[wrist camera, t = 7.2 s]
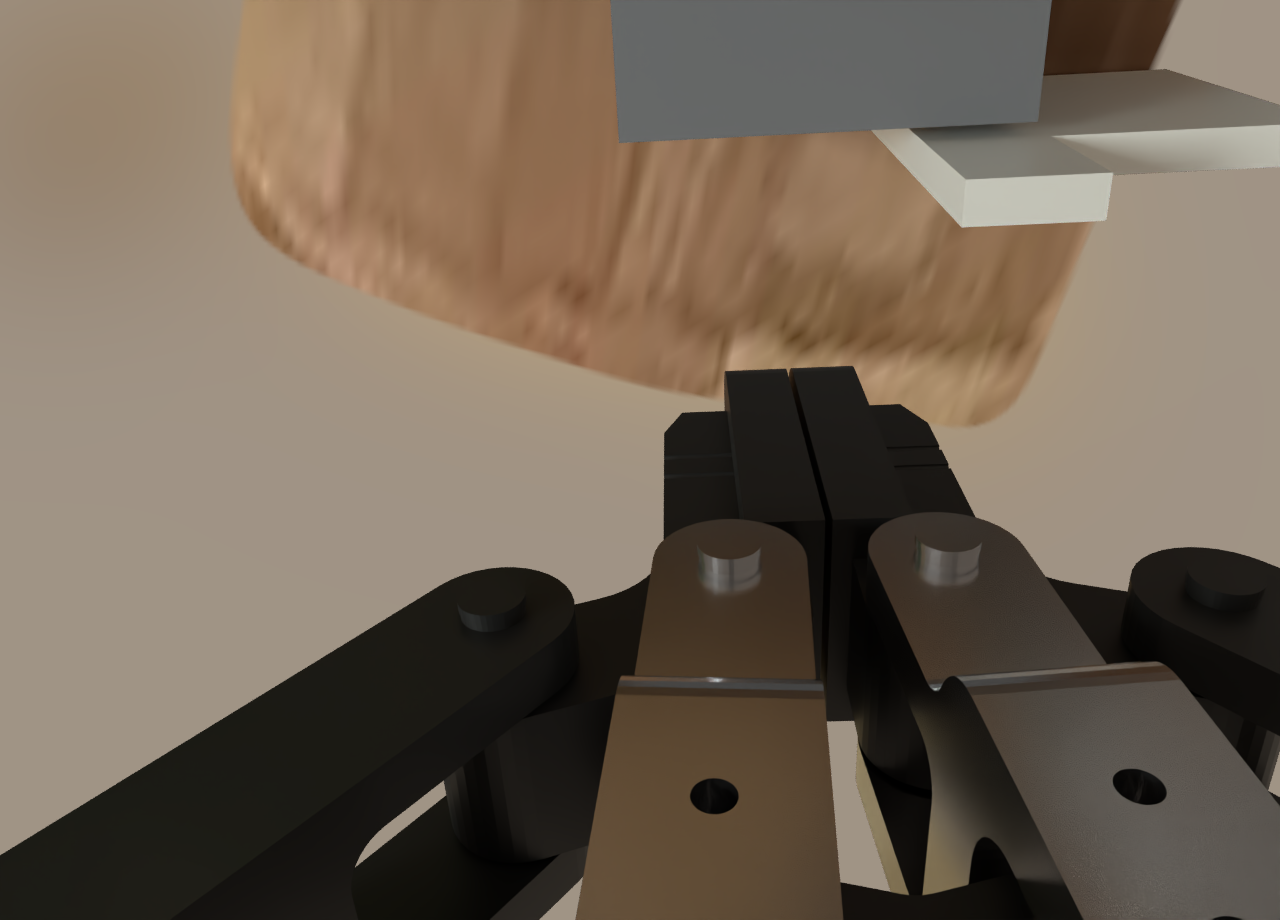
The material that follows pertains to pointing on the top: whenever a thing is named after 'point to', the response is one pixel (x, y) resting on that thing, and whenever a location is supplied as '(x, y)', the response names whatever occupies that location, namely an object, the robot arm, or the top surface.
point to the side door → (1087, 146)
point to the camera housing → (823, 65)
